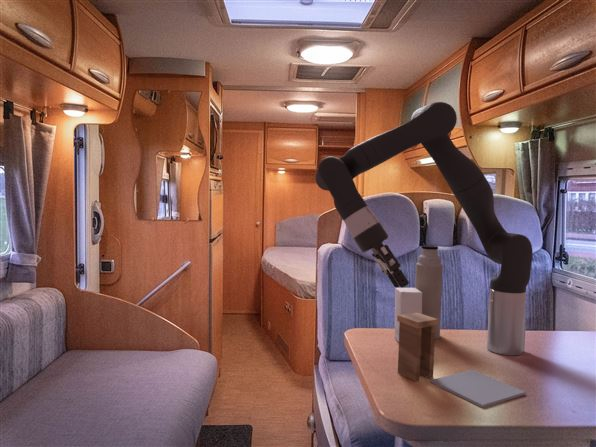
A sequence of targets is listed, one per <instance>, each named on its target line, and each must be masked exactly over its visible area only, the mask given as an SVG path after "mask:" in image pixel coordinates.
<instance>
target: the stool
mask: <svg viewBox="0 0 596 447" xmlns="http://www.w3.org/2000/svg"><path fill="white" fill-rule="evenodd" d="M397 321H399V322H400V326H399V343H398V355H397V356H398V358H397V360H398V361H397V374H400V375H401V376H402V375H403V376H404V377H406V378H408V379H410V380H412V381H414V382H419V381H420V375H422V376H424V377H426V378H428V379H431V378H434V366H435V364H434V363H435V362H434V361H435V342H436V341H435V340H436V339H435V326H436V325H438V319H436V318H433V317H430V316H426V315H423V314H420V313H410V314H403V315H397Z"/></svg>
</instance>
